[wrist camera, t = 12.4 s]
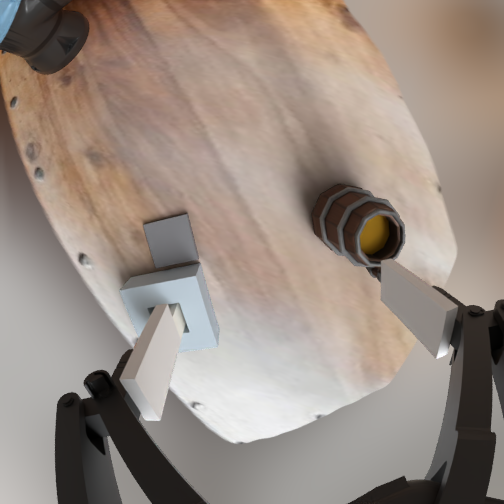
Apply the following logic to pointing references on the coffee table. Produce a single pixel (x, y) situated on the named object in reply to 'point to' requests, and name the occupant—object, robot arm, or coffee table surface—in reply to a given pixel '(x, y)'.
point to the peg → (176, 318)
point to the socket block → (174, 291)
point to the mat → (171, 241)
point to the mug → (359, 226)
